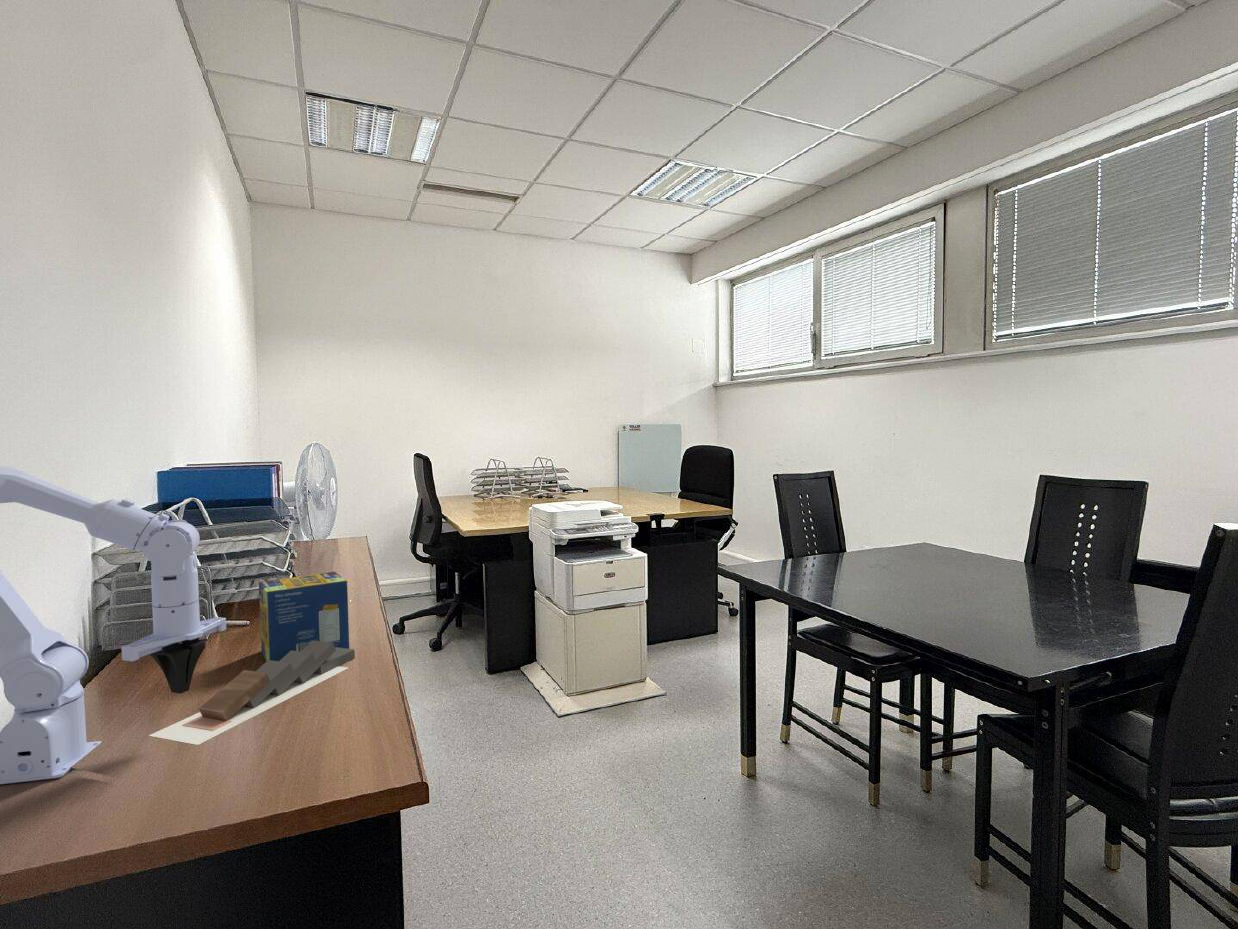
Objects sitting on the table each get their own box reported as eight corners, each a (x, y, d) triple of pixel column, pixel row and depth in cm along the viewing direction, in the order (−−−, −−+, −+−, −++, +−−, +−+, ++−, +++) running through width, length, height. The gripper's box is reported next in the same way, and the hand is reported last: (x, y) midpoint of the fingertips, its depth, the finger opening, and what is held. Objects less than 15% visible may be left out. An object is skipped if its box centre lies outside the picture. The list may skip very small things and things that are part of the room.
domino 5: (320, 665, 117) (354, 649, 125) (299, 663, 118) (334, 647, 127) (321, 675, 117) (354, 658, 125) (300, 672, 118) (334, 655, 127)
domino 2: (250, 700, 102) (290, 662, 110) (227, 696, 103) (268, 660, 111) (253, 708, 103) (293, 670, 110) (230, 704, 104) (271, 668, 112)
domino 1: (222, 712, 97) (266, 673, 105) (198, 708, 99) (244, 670, 107) (226, 721, 98) (270, 681, 106) (202, 717, 99) (247, 678, 107)
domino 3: (275, 688, 107) (312, 653, 115) (253, 684, 108) (291, 650, 116) (279, 696, 107) (315, 660, 115) (256, 692, 109) (294, 658, 117)
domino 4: (299, 676, 112) (333, 642, 120) (278, 673, 113) (312, 640, 121) (303, 683, 113) (336, 650, 120) (281, 680, 114) (315, 647, 122)
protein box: (260, 654, 130) (257, 581, 129) (338, 638, 139) (336, 571, 139) (268, 669, 122) (265, 591, 121) (350, 651, 131) (348, 579, 130)
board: (198, 749, 91) (197, 744, 91) (148, 739, 94) (148, 735, 94) (349, 670, 120) (348, 667, 120) (307, 665, 123) (307, 662, 123)
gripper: (145, 618, 84) (150, 715, 85) (239, 592, 98) (242, 676, 99) (109, 614, 87) (114, 709, 87) (205, 589, 100) (209, 671, 101)
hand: (180, 691), depth 93 cm, fingers closed
